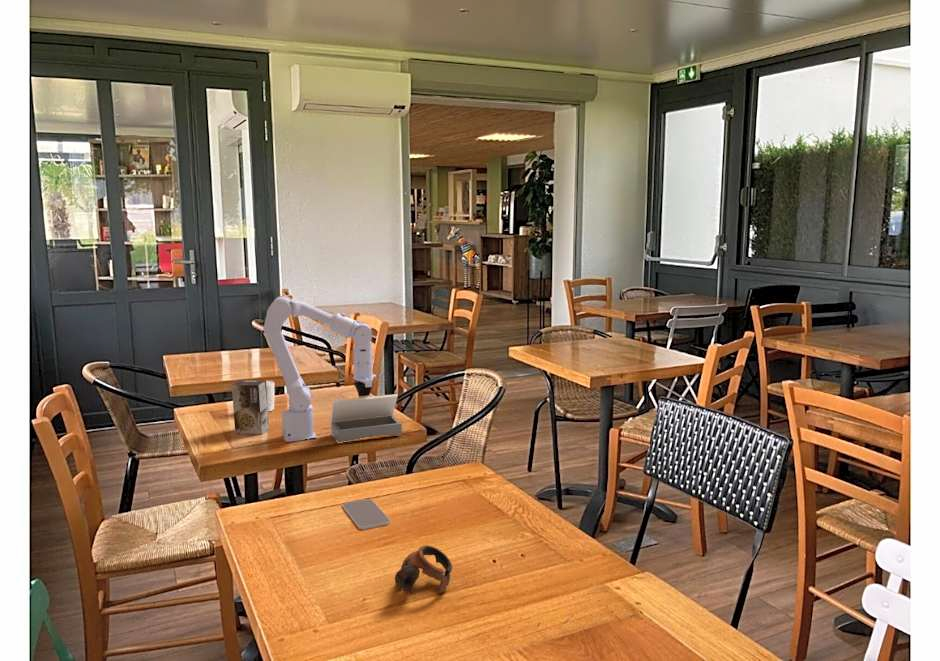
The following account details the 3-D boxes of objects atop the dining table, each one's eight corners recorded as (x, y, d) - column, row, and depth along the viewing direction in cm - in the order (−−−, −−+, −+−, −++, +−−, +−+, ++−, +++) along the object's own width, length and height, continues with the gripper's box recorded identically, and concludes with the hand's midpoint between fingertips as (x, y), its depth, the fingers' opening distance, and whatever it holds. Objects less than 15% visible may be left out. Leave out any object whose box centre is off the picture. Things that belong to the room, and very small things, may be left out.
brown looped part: (410, 571, 138) (431, 537, 137) (443, 605, 134) (466, 571, 132) (373, 582, 128) (395, 546, 126) (407, 620, 123) (431, 583, 122)
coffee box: (269, 428, 228) (267, 380, 226) (261, 434, 222) (259, 384, 219) (242, 427, 229) (239, 379, 227) (234, 433, 223) (231, 384, 220)
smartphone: (371, 498, 171) (392, 521, 158) (371, 501, 171) (392, 525, 158) (341, 503, 168) (360, 527, 155) (341, 507, 168) (360, 531, 155)
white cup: (251, 409, 251) (249, 382, 249) (273, 406, 254) (272, 379, 253) (254, 415, 244) (252, 386, 242) (277, 412, 247) (276, 384, 245)
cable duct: (337, 443, 213) (337, 431, 212) (331, 434, 222) (331, 422, 222) (401, 436, 220) (401, 423, 220) (393, 427, 229) (392, 415, 229)
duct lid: (334, 402, 215) (333, 398, 215) (331, 421, 222) (330, 418, 222) (397, 396, 222) (396, 392, 223) (392, 415, 229) (391, 411, 230)
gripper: (381, 365, 214) (382, 409, 216) (370, 356, 227) (371, 397, 230) (358, 367, 212) (359, 411, 214) (348, 358, 225) (349, 399, 227)
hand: (364, 404), depth 222 cm, fingers closed, pressing on duct lid
